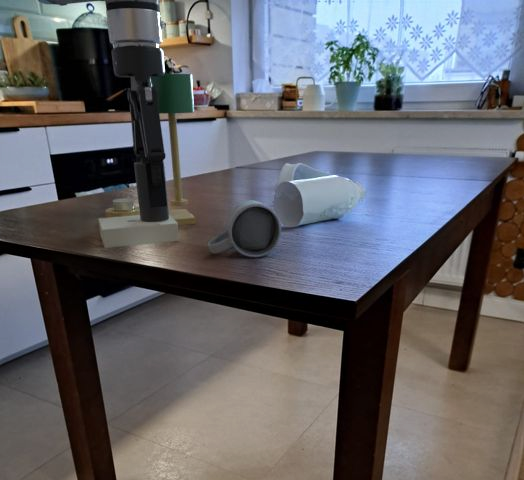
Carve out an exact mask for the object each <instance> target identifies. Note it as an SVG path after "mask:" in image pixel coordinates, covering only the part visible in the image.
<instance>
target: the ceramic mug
mask: <svg viewBox="0 0 524 480" xmlns="http://www.w3.org/2000/svg"><path fill="white" fill-rule="evenodd" d="M281 236H282V223H281V222H280V220H279V218H278V216H277V214H276V213H275V211H274V209H272V208H271V207H269V206H268V205H266V204H264V203H263V202H261V201H258V200H254V199H248V200H243V201H241V202H239V203H238V204H236V205H235V206H234V207H233V208H232V209H231V211H230V213H229V215H228V217H227V230H224V231H223V232H221V233H219V234H217V235H216V236H214V237H213V238H211V239H210V240H209V241H208V243H207V248H208V249H209V251H210V253H211V254H213V255H217V254H221V253H223V252H226V251H228V250H230V249H232V248H234V250H236V251H237V252H238V253H239V254H240V255H242V256H244V257H247V258H262V257H264V256H267V255H270V253H272V252H273V251H274V250H275V248H276V247H277V246H278V244H279V242H280V239H281Z"/></svg>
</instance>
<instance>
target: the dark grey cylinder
mask: <svg viewBox="0 0 524 480" xmlns="http://www.w3.org/2000/svg"><path fill="white" fill-rule="evenodd" d="M163 165H164V176H165V187H166V198H167V206H164V207H151V208H150V207H149V199H148V189H147V180H146V171H145V164H142V163H141V162H136V161H135V162H133V168H134V176H135V185H136V186H135V187H136V194H137V202H138V207H139V211H140V220H141V221H145V222H159V221H165V220H168V219H169V200H168V190H167V189H168V188H167V181H166V180H167V179H166V178H167V177H166V170H165V169H166V167H165V161H163Z"/></svg>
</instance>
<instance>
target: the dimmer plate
mask: <svg viewBox="0 0 524 480" xmlns="http://www.w3.org/2000/svg"><path fill="white" fill-rule="evenodd" d="M177 217H181V216H173V218H177ZM173 218H172V217H171V216H170V215H169V219H168V220H165V221H159V222H145V221H141V220H140V215H135V216H123V217H110V218H106V217H99V218H97V219H98V226H99V233H100V238H101V240H102V241H101V242H102V244H103V247H104V249H112V248H120V247H133V246H141V245H143V246H144V245H152V244H162V243H172V242H179V241H180V235H179V225H178V223H177V222H176V221H175V220H174V219H173Z"/></svg>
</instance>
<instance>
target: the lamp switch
mask: <svg viewBox="0 0 524 480" xmlns="http://www.w3.org/2000/svg"><path fill="white" fill-rule="evenodd" d="M133 206H134V200H133V198H115V199H112V207H113V208H114V211H117V212H123V211H131V210H134V207H133Z"/></svg>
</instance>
